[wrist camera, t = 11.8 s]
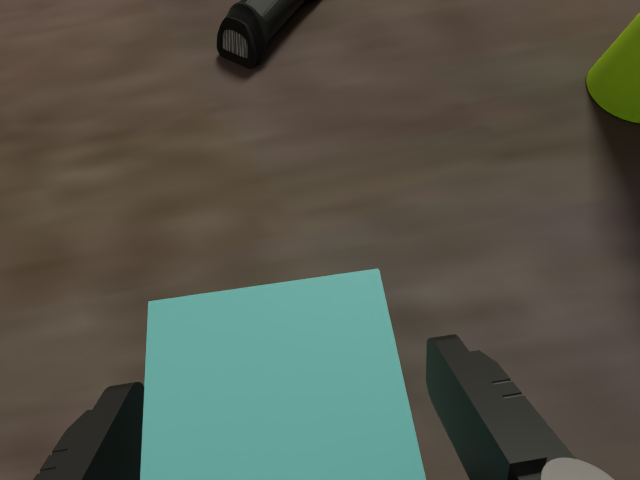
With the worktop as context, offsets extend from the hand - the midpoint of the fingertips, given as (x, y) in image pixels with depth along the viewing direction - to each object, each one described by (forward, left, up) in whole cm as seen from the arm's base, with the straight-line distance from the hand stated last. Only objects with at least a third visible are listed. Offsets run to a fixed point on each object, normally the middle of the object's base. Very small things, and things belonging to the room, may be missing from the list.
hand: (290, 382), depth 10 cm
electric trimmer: (-2, -28, -8) cm, 29 cm away
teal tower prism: (0, +1, -7) cm, 7 cm away
